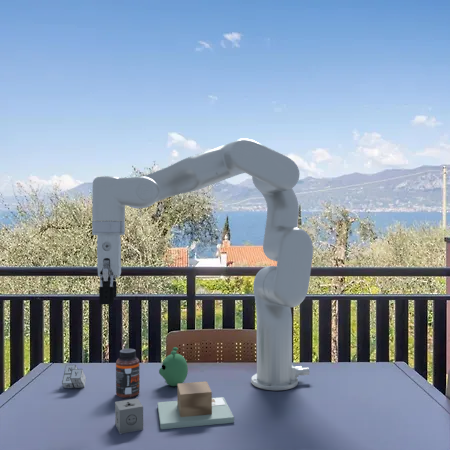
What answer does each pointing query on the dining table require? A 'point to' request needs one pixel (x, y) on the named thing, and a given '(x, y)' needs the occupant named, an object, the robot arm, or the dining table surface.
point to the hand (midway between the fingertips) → (108, 300)
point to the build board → (172, 418)
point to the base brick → (194, 399)
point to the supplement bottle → (127, 374)
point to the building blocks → (73, 377)
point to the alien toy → (174, 368)
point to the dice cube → (129, 415)
